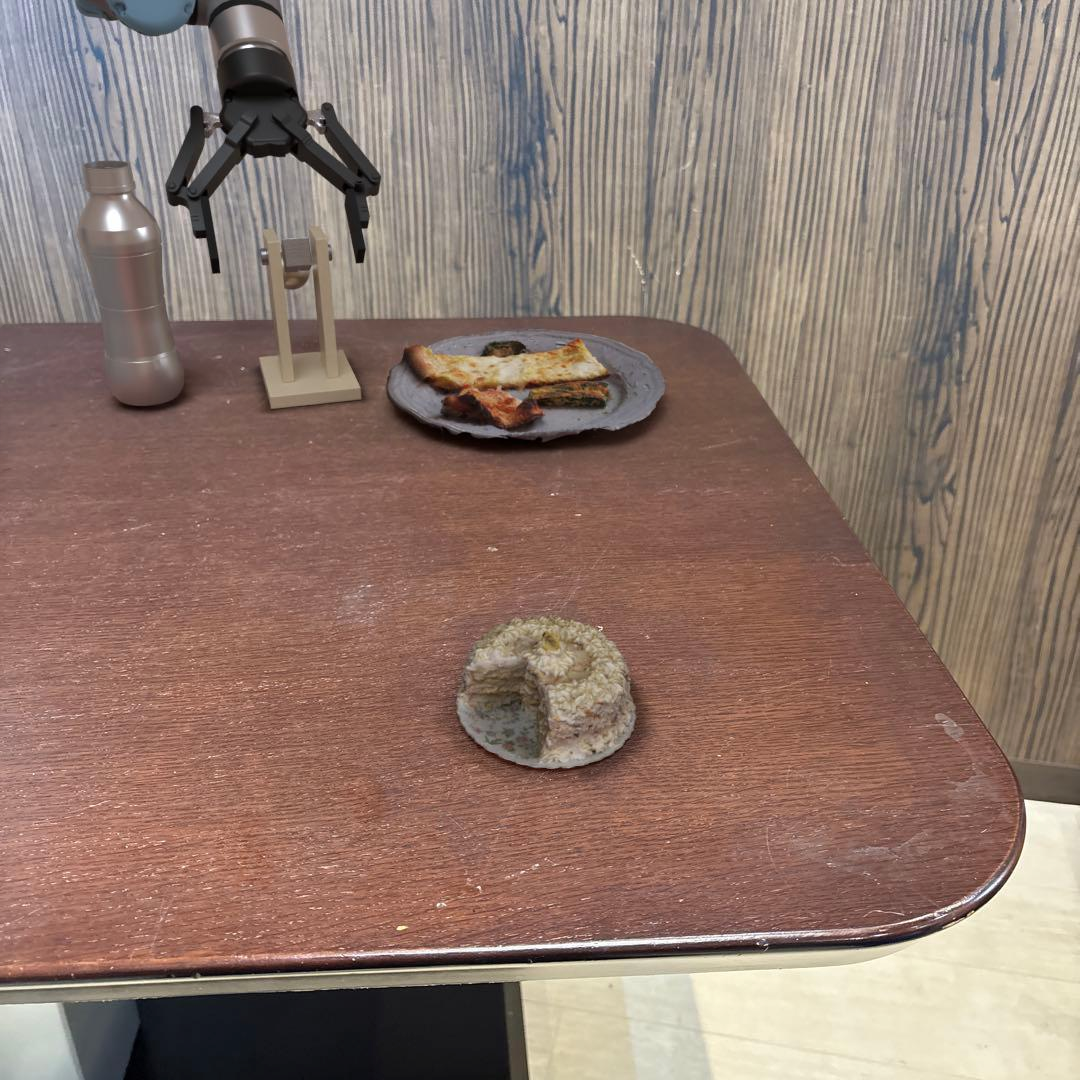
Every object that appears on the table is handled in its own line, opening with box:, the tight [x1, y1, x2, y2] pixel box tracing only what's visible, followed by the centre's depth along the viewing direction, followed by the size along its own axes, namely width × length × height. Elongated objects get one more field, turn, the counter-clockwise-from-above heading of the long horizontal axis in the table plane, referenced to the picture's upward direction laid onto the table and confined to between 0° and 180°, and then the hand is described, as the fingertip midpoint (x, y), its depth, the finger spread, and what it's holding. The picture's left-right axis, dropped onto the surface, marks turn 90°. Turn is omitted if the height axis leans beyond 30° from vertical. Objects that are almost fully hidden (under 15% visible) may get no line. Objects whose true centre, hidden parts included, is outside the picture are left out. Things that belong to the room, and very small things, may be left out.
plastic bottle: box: [76, 160, 185, 407], centre depth 84 cm, size 6×7×20 cm
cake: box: [454, 613, 637, 770], centre depth 54 cm, size 10×10×5 cm
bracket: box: [258, 225, 362, 410], centre depth 90 cm, size 10×8×14 cm
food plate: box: [385, 327, 666, 443], centre depth 91 cm, size 25×23×4 cm
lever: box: [280, 236, 312, 291], centre depth 92 cm, size 11×4×4 cm, turn 19°
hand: (289, 261), depth 96 cm, fingers open, 13 cm apart
